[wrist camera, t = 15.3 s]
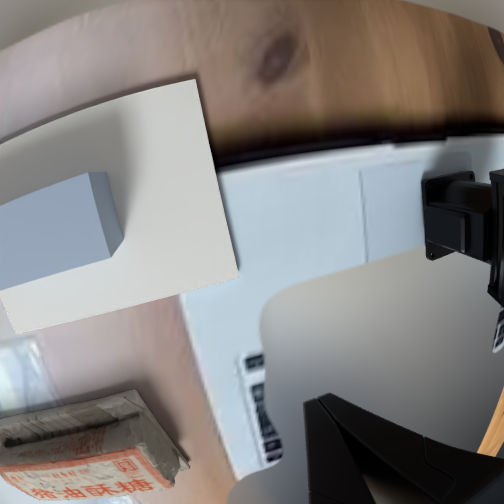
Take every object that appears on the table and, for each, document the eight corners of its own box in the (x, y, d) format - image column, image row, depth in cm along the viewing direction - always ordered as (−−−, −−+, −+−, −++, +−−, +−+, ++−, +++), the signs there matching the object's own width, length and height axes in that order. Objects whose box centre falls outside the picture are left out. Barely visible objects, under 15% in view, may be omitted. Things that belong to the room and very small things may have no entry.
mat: (194, 81, 17) (195, 79, 16) (237, 274, 20) (239, 277, 20) (-32, 164, 14) (-37, 164, 14) (19, 330, 18) (16, 334, 17)
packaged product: (131, 427, 17) (196, 500, 20) (135, 381, 21) (190, 458, 24) (-35, 450, 14) (35, 515, 17) (-18, 418, 19) (42, 482, 22)
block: (87, 172, 13) (-49, 229, 11) (110, 257, 14) (-26, 299, 12) (106, 171, 16) (-15, 217, 15) (124, 239, 18) (3, 276, 16)
